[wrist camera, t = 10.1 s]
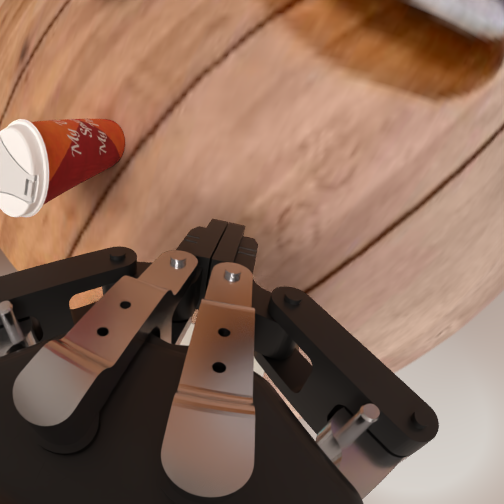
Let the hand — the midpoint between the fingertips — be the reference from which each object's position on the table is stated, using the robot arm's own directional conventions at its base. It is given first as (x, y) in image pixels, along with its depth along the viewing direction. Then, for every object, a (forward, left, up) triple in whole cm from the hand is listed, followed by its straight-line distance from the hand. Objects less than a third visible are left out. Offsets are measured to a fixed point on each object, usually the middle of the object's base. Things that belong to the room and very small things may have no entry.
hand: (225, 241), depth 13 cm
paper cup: (+17, -1, -15) cm, 23 cm away
